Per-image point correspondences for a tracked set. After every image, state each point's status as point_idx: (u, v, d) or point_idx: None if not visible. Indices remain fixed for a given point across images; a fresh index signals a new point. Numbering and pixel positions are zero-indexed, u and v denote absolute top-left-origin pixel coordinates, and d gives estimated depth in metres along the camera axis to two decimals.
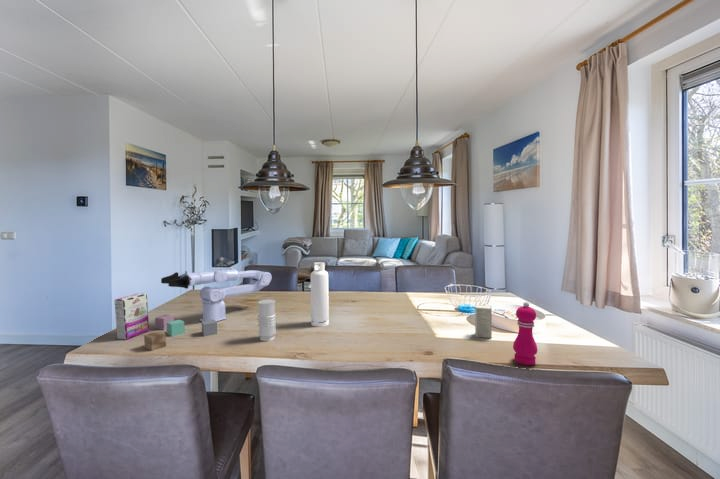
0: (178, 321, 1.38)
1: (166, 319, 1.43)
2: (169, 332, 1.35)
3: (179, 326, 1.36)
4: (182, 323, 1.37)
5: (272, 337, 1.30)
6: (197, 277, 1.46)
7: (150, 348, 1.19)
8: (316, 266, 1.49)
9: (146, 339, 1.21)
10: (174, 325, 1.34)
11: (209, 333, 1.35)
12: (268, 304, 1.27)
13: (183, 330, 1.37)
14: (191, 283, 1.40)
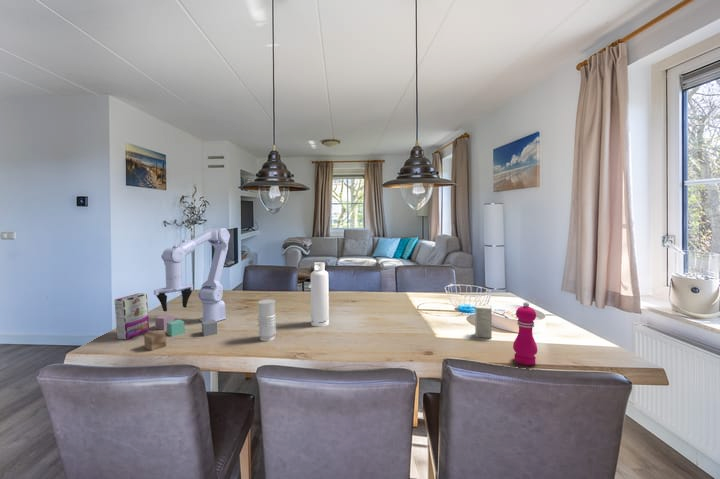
0: (178, 321, 1.38)
1: (166, 319, 1.43)
2: (169, 332, 1.35)
3: (179, 326, 1.36)
4: (182, 323, 1.37)
5: (272, 337, 1.30)
6: (181, 279, 1.37)
7: (150, 348, 1.19)
8: (316, 266, 1.49)
9: (146, 339, 1.20)
10: (174, 325, 1.34)
11: (209, 333, 1.35)
12: (268, 304, 1.27)
13: (183, 330, 1.37)
14: None
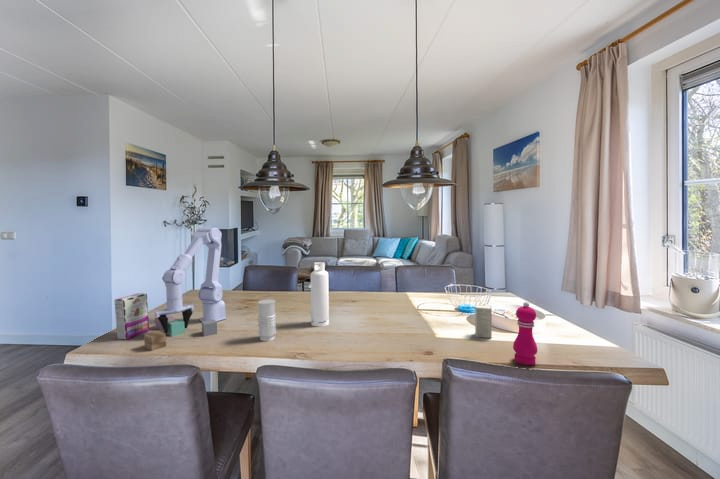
0: (178, 321, 1.38)
1: None
2: (169, 332, 1.35)
3: (179, 326, 1.36)
4: (182, 323, 1.37)
5: (272, 337, 1.30)
6: None
7: (150, 348, 1.19)
8: (316, 266, 1.49)
9: (146, 339, 1.21)
10: (174, 325, 1.34)
11: (209, 333, 1.35)
12: (268, 304, 1.27)
13: (183, 330, 1.37)
14: None
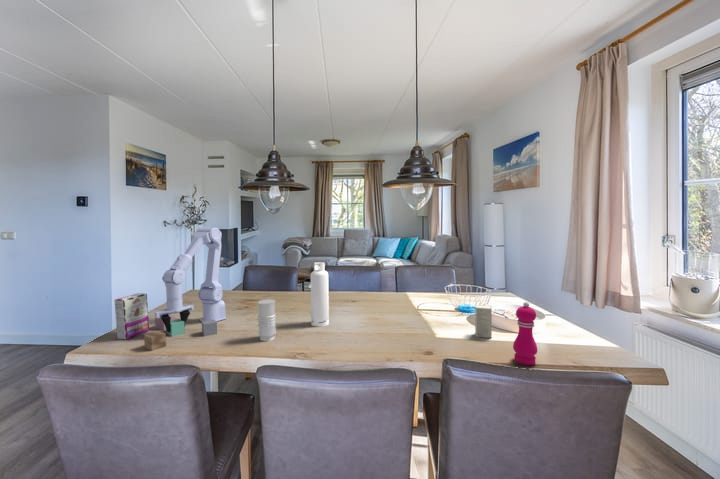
0: (178, 321, 1.38)
1: None
2: (169, 332, 1.35)
3: (179, 326, 1.36)
4: (182, 323, 1.37)
5: (272, 337, 1.30)
6: None
7: (150, 348, 1.19)
8: (316, 266, 1.49)
9: (146, 339, 1.20)
10: (174, 325, 1.34)
11: (209, 333, 1.35)
12: (268, 304, 1.27)
13: (183, 330, 1.37)
14: None
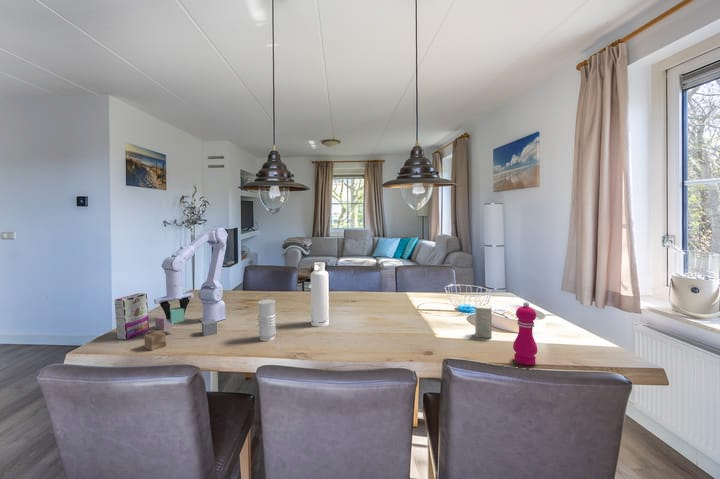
0: (178, 308, 1.37)
1: (166, 319, 1.43)
2: None
3: (178, 313, 1.35)
4: (182, 310, 1.36)
5: (272, 337, 1.30)
6: (181, 287, 1.37)
7: (150, 348, 1.19)
8: (316, 266, 1.49)
9: (146, 339, 1.21)
10: (173, 312, 1.34)
11: (209, 333, 1.35)
12: (268, 304, 1.27)
13: (183, 317, 1.37)
14: None
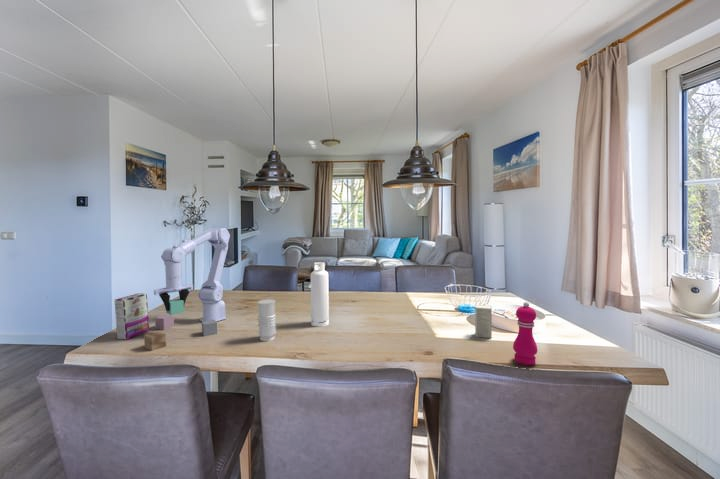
0: (177, 300, 1.37)
1: (166, 319, 1.43)
2: (168, 311, 1.35)
3: (178, 305, 1.35)
4: (181, 302, 1.36)
5: (272, 337, 1.30)
6: (181, 279, 1.37)
7: (150, 348, 1.19)
8: (316, 266, 1.49)
9: (146, 339, 1.21)
10: (173, 303, 1.34)
11: (209, 333, 1.35)
12: (268, 304, 1.27)
13: (182, 309, 1.37)
14: None
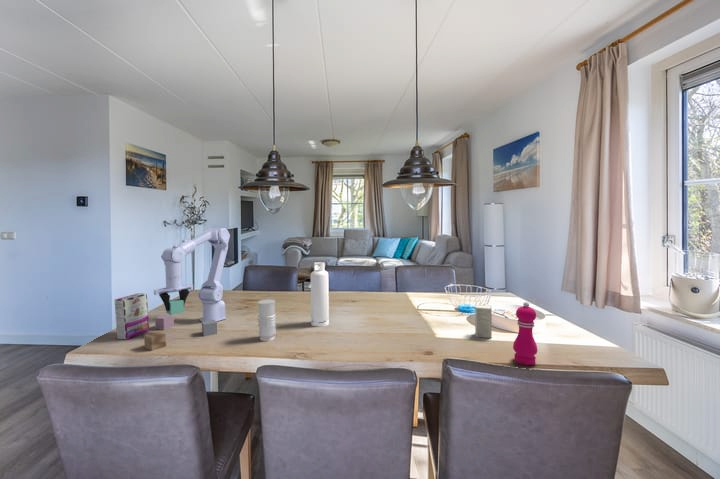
0: (177, 300, 1.37)
1: (166, 319, 1.43)
2: (168, 311, 1.35)
3: (178, 305, 1.35)
4: (181, 302, 1.36)
5: (272, 337, 1.30)
6: (181, 279, 1.37)
7: (150, 348, 1.19)
8: (316, 266, 1.49)
9: (146, 339, 1.20)
10: (173, 303, 1.34)
11: (209, 333, 1.35)
12: (268, 304, 1.27)
13: (182, 309, 1.37)
14: None
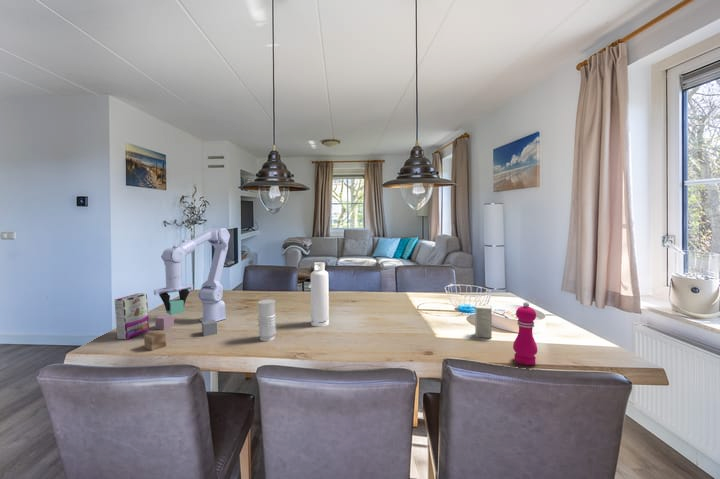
0: (177, 300, 1.37)
1: (166, 319, 1.43)
2: (168, 311, 1.35)
3: (178, 305, 1.35)
4: (181, 302, 1.36)
5: (272, 337, 1.30)
6: (181, 279, 1.37)
7: (150, 348, 1.19)
8: (316, 266, 1.49)
9: (146, 339, 1.20)
10: (173, 303, 1.34)
11: (209, 333, 1.35)
12: (268, 304, 1.27)
13: (182, 309, 1.37)
14: None
